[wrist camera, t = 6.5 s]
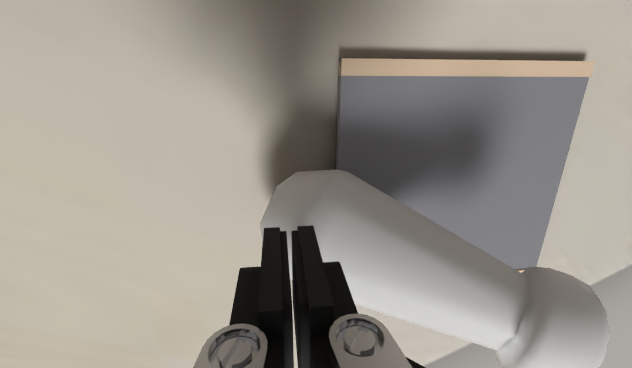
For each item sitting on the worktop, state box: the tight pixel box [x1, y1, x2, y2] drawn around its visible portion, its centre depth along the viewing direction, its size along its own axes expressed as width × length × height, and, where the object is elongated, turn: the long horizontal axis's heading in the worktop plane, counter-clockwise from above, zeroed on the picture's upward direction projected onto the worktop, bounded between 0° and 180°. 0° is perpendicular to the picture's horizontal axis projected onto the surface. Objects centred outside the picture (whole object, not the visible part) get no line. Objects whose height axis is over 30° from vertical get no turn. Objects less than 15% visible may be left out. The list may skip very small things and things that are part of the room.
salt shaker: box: [260, 170, 609, 368], centre depth 13 cm, size 6×6×13 cm
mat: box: [336, 58, 595, 273], centre depth 18 cm, size 14×14×1 cm
